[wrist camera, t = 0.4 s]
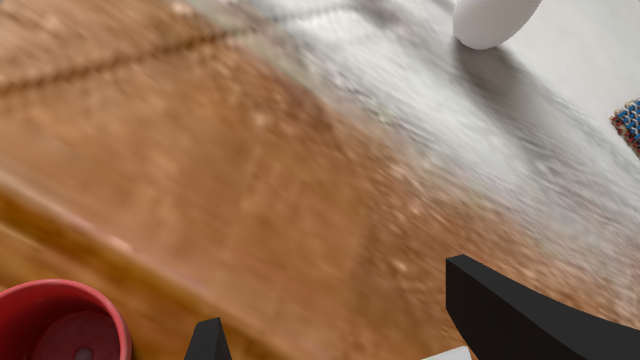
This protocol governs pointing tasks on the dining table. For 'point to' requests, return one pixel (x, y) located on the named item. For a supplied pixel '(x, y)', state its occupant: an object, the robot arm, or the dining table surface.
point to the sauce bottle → (490, 20)
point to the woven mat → (629, 123)
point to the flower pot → (61, 323)
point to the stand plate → (452, 354)
